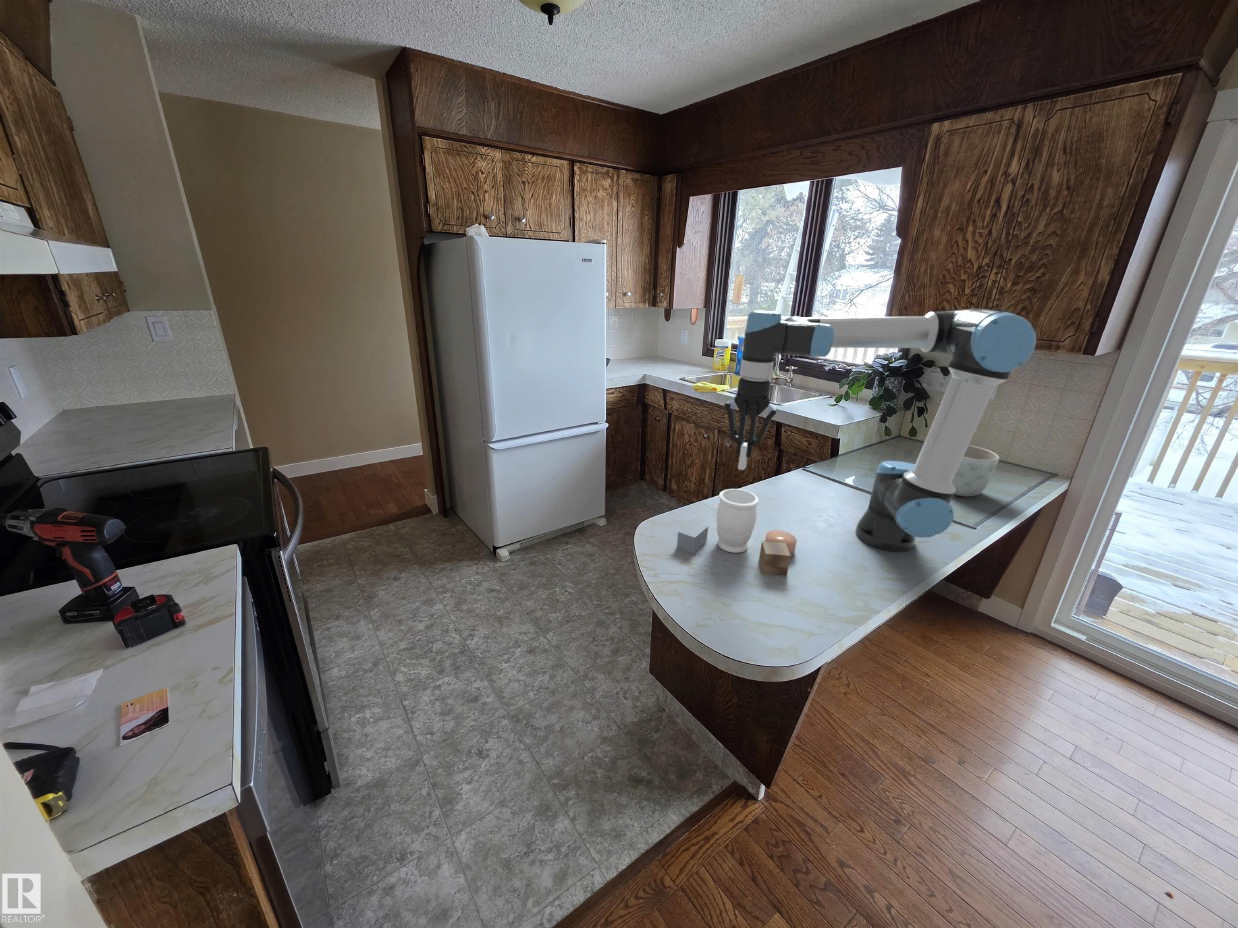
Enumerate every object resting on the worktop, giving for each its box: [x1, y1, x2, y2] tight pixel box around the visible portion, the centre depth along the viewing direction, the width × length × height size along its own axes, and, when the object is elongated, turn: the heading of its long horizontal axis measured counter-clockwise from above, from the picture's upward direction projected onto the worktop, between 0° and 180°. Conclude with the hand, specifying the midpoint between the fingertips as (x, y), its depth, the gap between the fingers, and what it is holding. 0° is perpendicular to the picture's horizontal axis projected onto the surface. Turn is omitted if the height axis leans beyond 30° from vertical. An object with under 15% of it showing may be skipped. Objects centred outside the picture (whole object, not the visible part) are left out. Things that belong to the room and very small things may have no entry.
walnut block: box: [758, 540, 792, 577], centre depth 127 cm, size 6×6×6 cm
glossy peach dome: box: [764, 530, 798, 558], centre depth 136 cm, size 8×8×4 cm
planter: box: [952, 444, 1000, 497], centre depth 175 cm, size 17×17×15 cm
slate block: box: [676, 520, 709, 554], centre depth 137 cm, size 5×8×5 cm, turn 145°
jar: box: [716, 488, 759, 554], centre depth 135 cm, size 11×10×15 cm
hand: (741, 467), depth 129 cm, fingers closed
